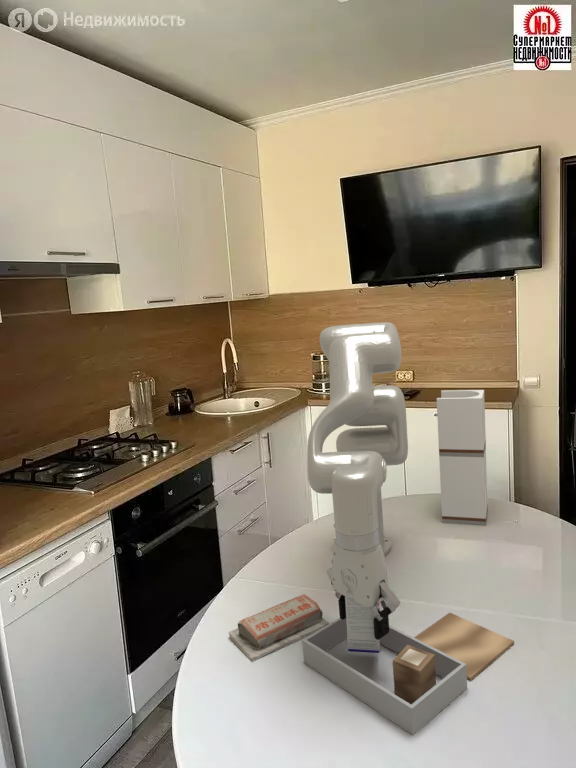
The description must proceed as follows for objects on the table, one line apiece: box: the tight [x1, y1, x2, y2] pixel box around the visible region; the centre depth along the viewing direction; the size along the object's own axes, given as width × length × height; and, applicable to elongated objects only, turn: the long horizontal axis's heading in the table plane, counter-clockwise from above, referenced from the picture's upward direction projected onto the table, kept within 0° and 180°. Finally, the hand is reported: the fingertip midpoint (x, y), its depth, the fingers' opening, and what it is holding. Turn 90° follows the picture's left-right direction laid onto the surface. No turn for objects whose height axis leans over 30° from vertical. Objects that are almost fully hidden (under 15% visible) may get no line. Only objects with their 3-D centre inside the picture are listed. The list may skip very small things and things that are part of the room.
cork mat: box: [413, 612, 515, 682], centre depth 110 cm, size 14×14×1 cm
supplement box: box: [345, 591, 381, 654], centre depth 106 cm, size 6×6×12 cm
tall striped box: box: [436, 389, 489, 527], centre depth 163 cm, size 11×11×35 cm
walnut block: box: [392, 645, 437, 704], centre depth 98 cm, size 5×5×7 cm
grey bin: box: [301, 617, 468, 735], centre depth 104 cm, size 25×14×4 cm, turn 40°
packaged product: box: [228, 594, 330, 662], centre depth 119 cm, size 18×5×10 cm
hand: (364, 625), depth 106 cm, fingers closed on supplement box, 7 cm apart
